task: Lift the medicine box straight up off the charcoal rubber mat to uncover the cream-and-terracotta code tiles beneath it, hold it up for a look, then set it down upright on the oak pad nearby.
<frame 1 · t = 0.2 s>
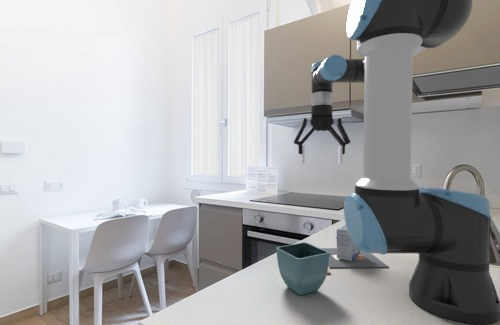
hand: (321, 163, 106), 27 cm above the worktop, tool pointing down, fingers open, 13 cm apart
flower pot: (302, 290, 64), on the worktop
code mat: (348, 257, 85), on the worktop
medicine box: (348, 257, 85), resting on code mat
oak pad: (302, 265, 78), on the worktop
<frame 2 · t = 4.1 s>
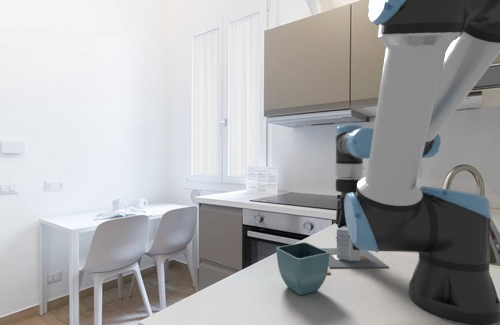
hand: (348, 254, 85), 1 cm above the worktop, tool pointing down, fingers closed on medicine box, 9 cm apart
medicine box: (348, 257, 85), resting on code mat, touching gripper
everything else where it was.
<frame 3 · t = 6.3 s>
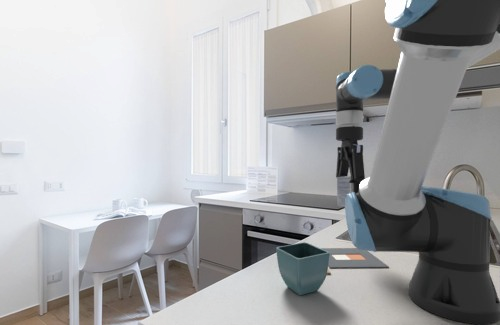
hand: (349, 203, 84), 16 cm above the worktop, tool pointing down, fingers closed on medicine box, 9 cm apart
medicine box: (348, 206, 84), point 15 cm above the worktop, touching gripper
everything else where it was.
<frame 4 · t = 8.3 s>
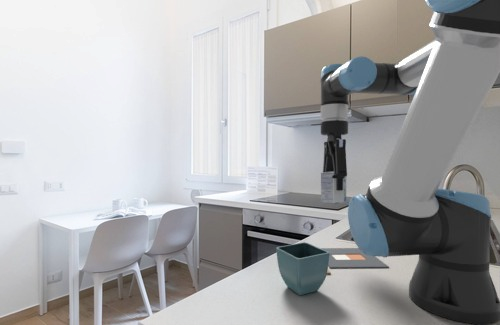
hand: (333, 199, 83), 17 cm above the worktop, tool pointing down, fingers closed on medicine box, 9 cm apart
medicine box: (333, 202, 83), point 17 cm above the worktop, touching gripper
everything else where it was.
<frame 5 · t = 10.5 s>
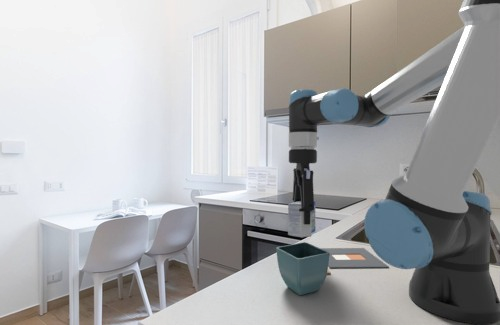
hand: (302, 231, 78), 9 cm above the worktop, tool pointing down, fingers closed on medicine box, 9 cm apart
medicine box: (301, 234, 78), point 9 cm above the worktop, touching gripper
everything else where it was.
when the fingers open (3 cm above the worktop, at t = 12.6 s): medicine box drops 2 cm, resting on oak pad.
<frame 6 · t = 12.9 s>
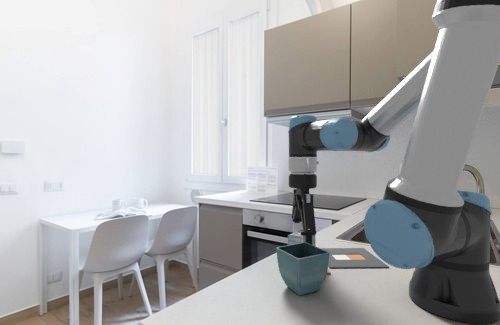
hand: (302, 252, 78), 4 cm above the worktop, tool pointing down, fingers open, 12 cm apart
medicine box: (302, 265, 78), resting on oak pad
everything else where it was.
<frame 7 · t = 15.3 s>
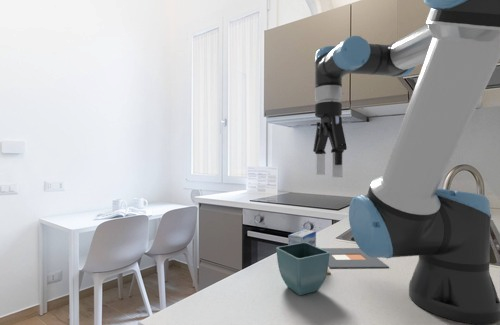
hand: (327, 175, 84), 24 cm above the worktop, tool pointing down, fingers open, 13 cm apart
nothing on the worktop moved.
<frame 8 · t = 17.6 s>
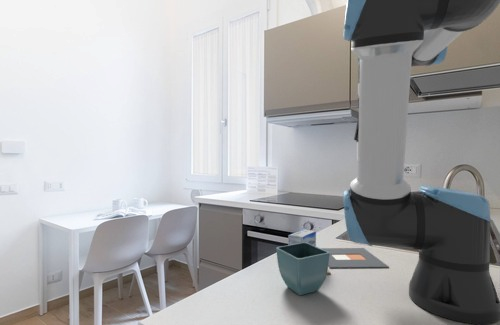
hand: (369, 160, 96), 29 cm above the worktop, tool pointing down, fingers open, 13 cm apart
nothing on the worktop moved.
at the end: medicine box inside the target area (0.1 cm from its centre), resting on oak pad; medicine box tilted 0°; the gripper is holding nothing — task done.
